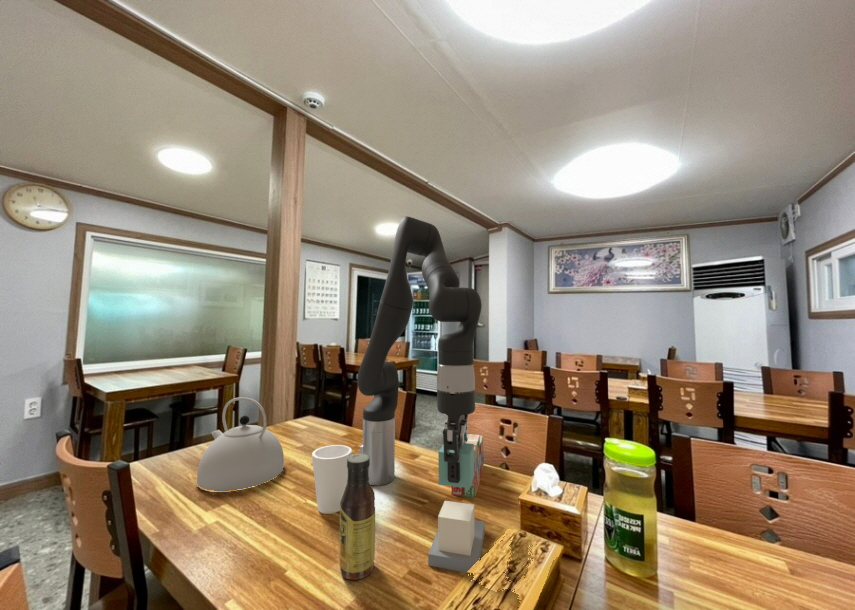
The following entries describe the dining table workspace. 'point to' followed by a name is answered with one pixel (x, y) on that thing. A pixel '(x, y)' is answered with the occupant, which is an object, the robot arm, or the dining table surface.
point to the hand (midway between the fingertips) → (456, 474)
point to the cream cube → (456, 528)
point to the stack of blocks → (478, 467)
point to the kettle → (240, 456)
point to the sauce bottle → (357, 521)
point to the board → (458, 560)
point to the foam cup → (330, 476)
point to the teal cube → (465, 467)
